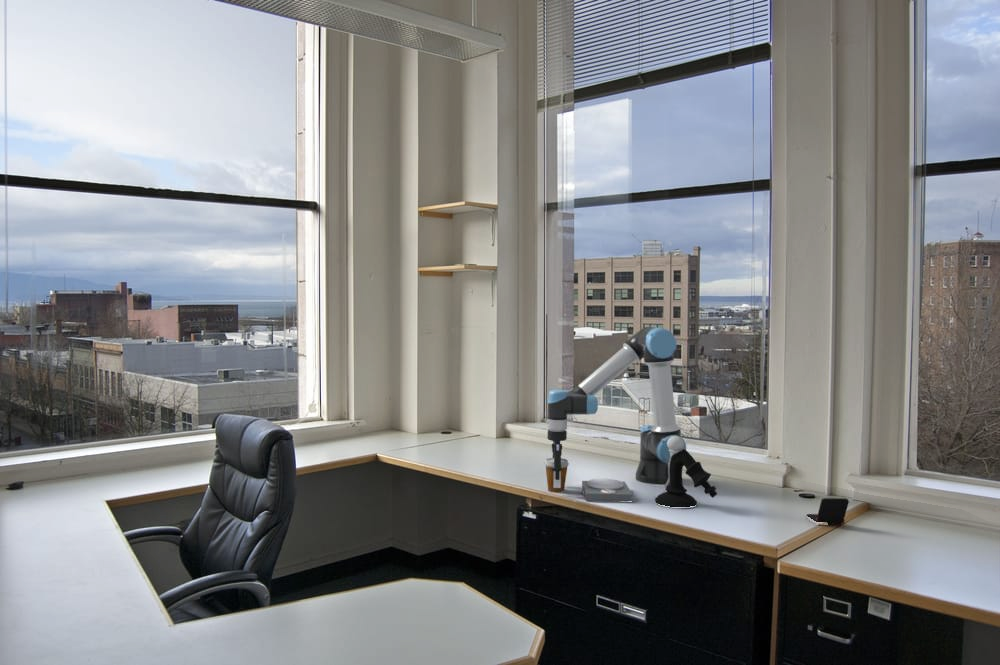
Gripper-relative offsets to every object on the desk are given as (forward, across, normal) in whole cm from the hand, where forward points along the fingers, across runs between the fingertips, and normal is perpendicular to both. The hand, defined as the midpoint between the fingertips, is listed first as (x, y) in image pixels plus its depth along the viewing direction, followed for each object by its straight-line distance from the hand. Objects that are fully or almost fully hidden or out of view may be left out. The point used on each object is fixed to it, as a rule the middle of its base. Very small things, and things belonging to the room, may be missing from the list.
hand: (556, 483), depth 295 cm
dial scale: (+3, +5, +19) cm, 20 cm away
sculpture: (+3, +18, +47) cm, 50 cm away
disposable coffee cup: (+3, 0, 0) cm, 3 cm away
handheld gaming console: (+3, +36, +91) cm, 98 cm away
